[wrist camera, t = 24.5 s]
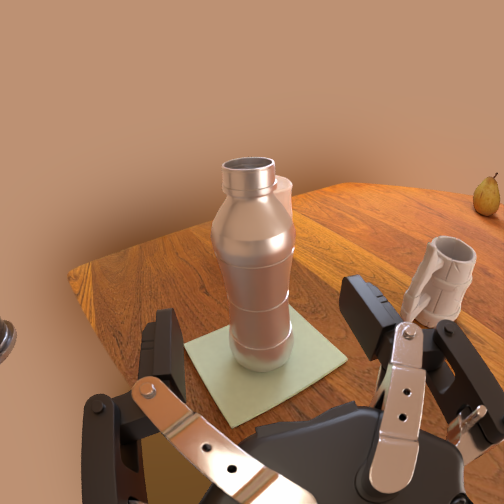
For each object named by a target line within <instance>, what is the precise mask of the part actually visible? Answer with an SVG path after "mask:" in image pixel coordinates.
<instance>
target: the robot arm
mask: <svg viewBox="0 0 504 504" xmlns="http://www.w3.org/2000/svg"><path fill="white" fill-rule="evenodd" d="M339 308H340V311H341V313H342V315H343V317H344V318H345V320H346V322H347V323H348V325H349V327H350V328H351V330H352V332H353V333H354V335H355V337H356V338H357V340H358V342H359V343H360V345H361V347H362V348H363V350H364V352H365V354H366V355H367V357H368V359H369V361H373V360H375V359H379V361H380V363H381V364H380V368H379V372H378V377H377V382H376V386H375V390H374V394H373V398H372V401H371V403H370V405H369V407H367V406H356V404H355V401H351V402H349V403H346V404H343V405H340V406H336V407H333V408H331V409H329V410H327V411H326V412H324V413H322V414H321V415H319V416H317V417H315V418H314V419H312V420H310V421H298V422H278V423H273V424H269V425H264V426H259V427H255V430H256V433H255V434H253V435H251V436H249V437H247V438H245V439H244V440H243V441H241V442H240V443H239V444H238V445H236V444H235V443H234V442H232V441H231V440H230V439H228V438H227V437H226V436H225V435H224V434H222V433H221V432H220V431H219V430H218V429H216V428H215V427H214V426H213V425H212V424H210V423H209V422H208V421H207V420H206V419H205V418H204V417H202V416H201V415H200V414H199V413H197V412H193V411H192V410H191V409H190V408H189V407H188V406H186V405H185V404H184V403H186V390H185V372H184V347H183V337H182V332H181V329H180V326H179V323H178V320H177V317H176V314H175V311H174V309H173V308H169V309H162V310H157V312H156V322H151V323H148V324H147V325H146V327H145V329H144V330H143V333H142V343H141V351H140V361H139V373H138V380H137V382H136V383H135V384H134V385H133V387H132V389H131V390H130V391H129V392H127V393H125V394H123V395H120V396H117V397H114V398H110V397H109V396H107V395H105V394H96V395H94V396H92V397H90V398H89V399H88V400H87V402H86V404H85V406H84V416H83V428H82V451H81V452H82V453H81V480H82V503H83V504H148V500H147V493H146V485H145V478H144V468H143V458H142V446H141V439H142V438H145V437H147V436H150V435H153V434H156V433H158V432H161V433H162V434H163V435H164V437H166V439H167V440H168V441H169V442H170V443H171V444H172V445H173V446H174V447H175V448H176V449H177V450H178V451H179V452H180V453H181V454H182V455H183V456H184V457H185V458H186V459H187V460H188V461H189V462H190V463H191V464H192V465H193V466H194V467H195V468H197V469H198V470H199V471H200V472H201V473H202V474H203V475H204V476H205V477H207V478H208V479H209V480H210V481H211V482H212V484H211V486H210V487H209V489H208V490H207V492H206V493H205V495H204V497H203V498H202V500H201V501H200V503H199V504H473V503H472V501H471V500H470V499H469V498H468V497H467V495H466V493H465V488H464V466H465V465H467V464H468V463H470V462H471V461H472V460H474V459H477V458H478V457H480V456H481V455H483V454H484V453H487V452H488V451H490V450H491V449H493V448H494V447H495V446H497V445H498V444H499V443H501V442H502V441H503V440H504V392H503V390H502V388H501V387H500V385H499V383H498V382H497V380H496V379H495V377H494V376H493V374H492V372H491V371H490V369H489V368H488V366H487V365H486V363H485V362H484V361H483V359H482V358H481V356H480V355H479V353H478V352H477V350H476V349H475V348H474V346H473V345H472V343H471V342H470V341H469V339H468V338H467V337H466V335H465V334H464V333H463V331H462V330H461V329H460V327H459V326H458V325H457V324H456V323H455V322H453V321H451V320H447V319H444V320H441V321H439V322H438V323H437V325H436V327H435V328H433V329H421V328H420V327H419V326H418V325H416V324H415V323H412V322H404V321H403V319H402V318H401V317H400V315H399V314H398V313H397V312H396V310H395V309H394V308H393V306H392V305H391V304H390V303H389V302H388V300H387V299H386V298H385V296H383V294H382V293H381V291H380V290H379V289H378V288H377V287H376V286H374V285H372V284H371V283H366V282H365V281H364V280H363V279H362V277H361V276H360V275H353V276H348V277H344V278H343V280H342V286H341V292H340V298H339ZM8 337H9V329H8V327H7V325H6V324H5V323H4V322H3V320H2V319H1V317H0V351H1V350H2V348H3V347H4V346H5V344H6V342H7V340H8ZM446 359H447V360H448V362H449V364H450V365H451V367H452V368H453V370H454V372H455V376H454V375H453V373H452V371H451V370H450V368H449V367H448V365H447V364H446V362H445V360H446ZM425 382H426V383H427V385H428V387H429V389H430V391H431V392H432V394H433V396H434V398H435V400H436V402H437V404H438V405H439V407H440V409H441V411H442V413H443V415H444V417H445V419H446V421H447V423H448V428H447V436H446V440H447V441H446V440H444V439H441V438H439V437H437V436H435V435H432V434H430V433H428V432H426V431H423V430H421V429H420V423H421V416H422V409H423V401H424V392H425Z"/></svg>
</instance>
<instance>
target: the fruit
mask: <svg viewBox="0 0 504 504" xmlns="http://www.w3.org/2000/svg"><path fill="white" fill-rule="evenodd" d="M497 174H498V173H496V175H497ZM496 175H495V176H494V177H487V178H486V179H485V180H484V181H483V182H482V183H481V184H480V185H479V186H478V187H477V188H476V190H475V192H474V196H473V204H474V208H475V210H476V211H477V212H479V213H480V214H482V215H485V216H489V215H492V214H494V213H496V212H497V210H498V208H499V204H500V194H499V190H498V184H497V182H496V180H495V179H494V178H495V177H496Z"/></svg>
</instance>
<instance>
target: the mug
mask: <svg viewBox="0 0 504 504" xmlns="http://www.w3.org/2000/svg"><path fill="white" fill-rule="evenodd" d="M475 262H476V253H475V251H474V250H473V248H471V247H470V246H468V245H467V244H466V243H464V242H463V241H461V240H460V239H457V240H456V238H454V237H449V236H439V237H435V238H434V239H433V240H432V242H431V243H430V242H428V243H427V248H426V253H425V255H424V258H423V261H422V262H421V263H420V265H419V267H418V269H417V271H416V273H415V275H414V277H413V278H412V282H411V285H410V287H409V289H408V290H406V292H405V294H404V298H403V304H402V307H401V313H400V314H401V317H402V319H403V321H404V322H412V321H413V320H414V319H416V320H417V321H418V322H419V323H421V324H423V325H424V326H427V327H429V328H432V327H434V328H435V327H436V325H437V323H438V322H439V321H441V320H444V319H447V320H451V321H454V320H455V319H456V318H457V317H458V315H459V313H460V311H461V302H462V299H463V296H464V294H465V291H466V289H467V288H468V287H469V285H470V284H471V282H472V271H473V268H474V265H475Z"/></svg>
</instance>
